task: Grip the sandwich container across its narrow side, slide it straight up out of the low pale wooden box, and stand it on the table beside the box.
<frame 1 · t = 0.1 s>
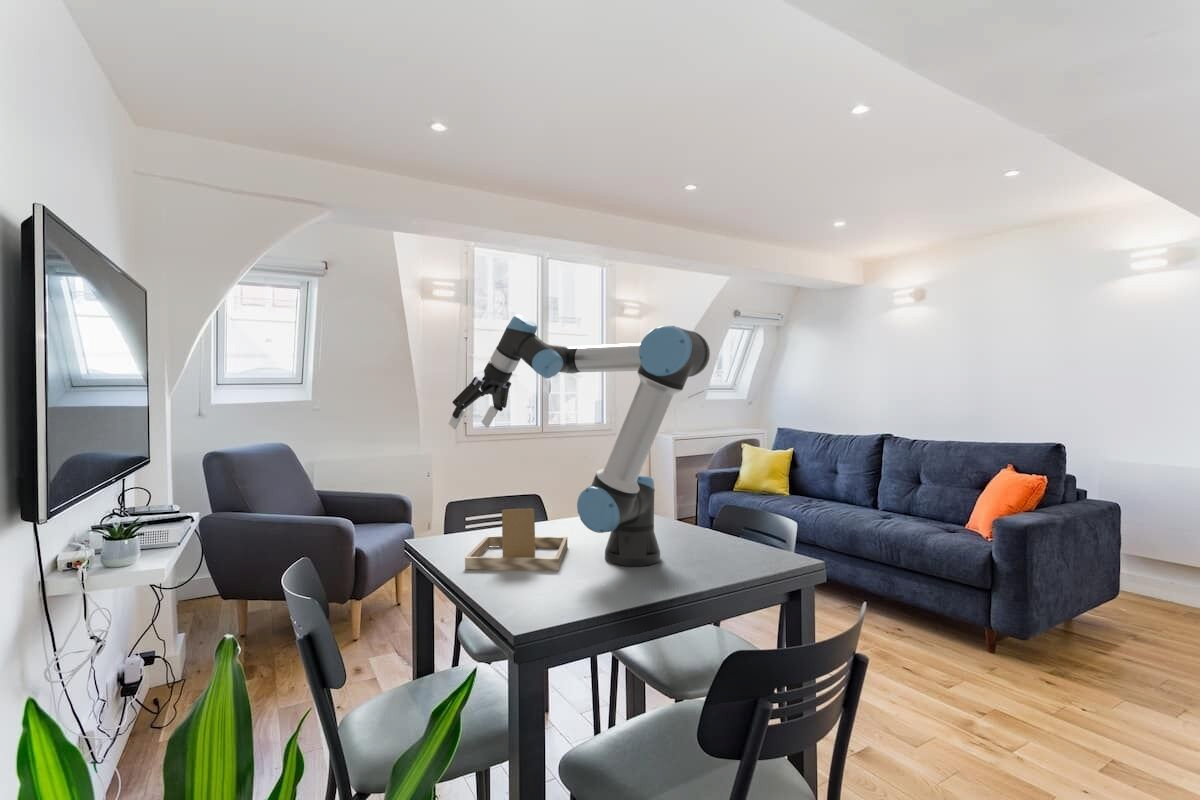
hand: (468, 425, 175), 36 cm above the table, tool tilted 35°, fingers open, 13 cm apart
pale wooden box: (519, 557, 163), on the table
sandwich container: (519, 558, 163), resting in pale wooden box
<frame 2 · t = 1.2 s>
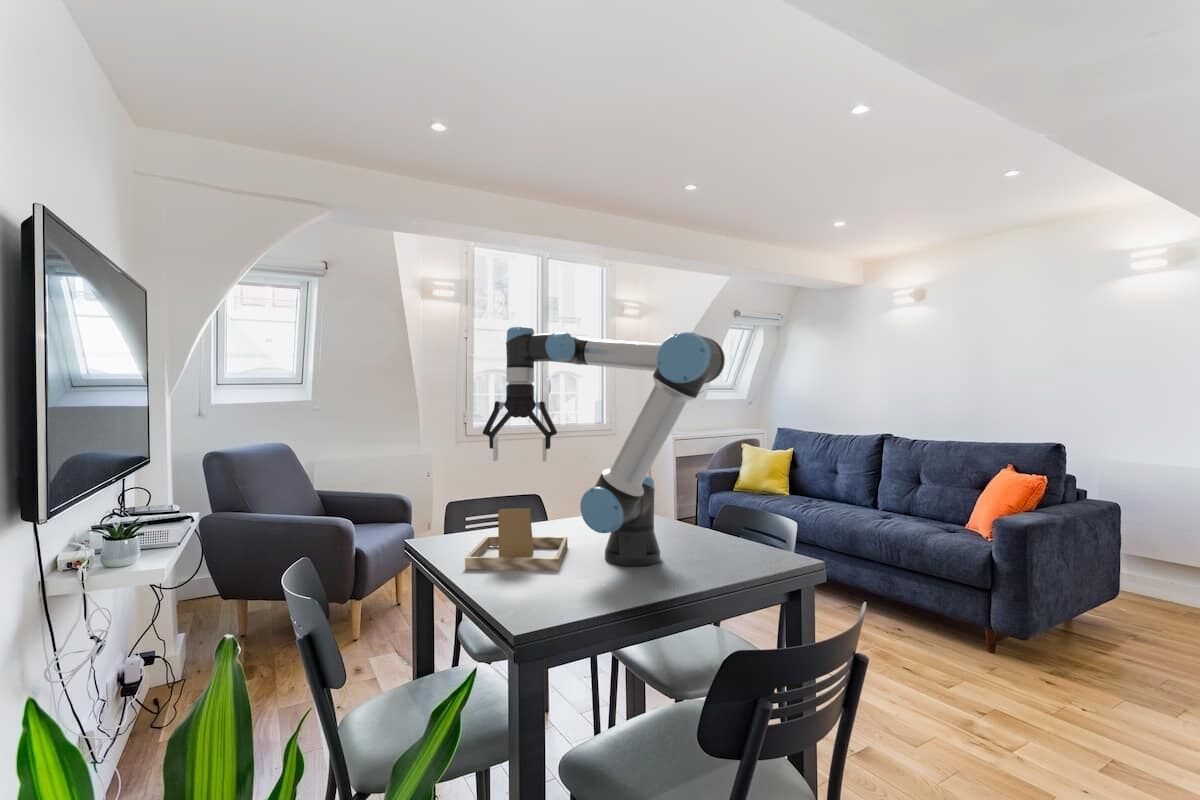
hand: (520, 460, 163), 27 cm above the table, tool pointing down, fingers open, 13 cm apart
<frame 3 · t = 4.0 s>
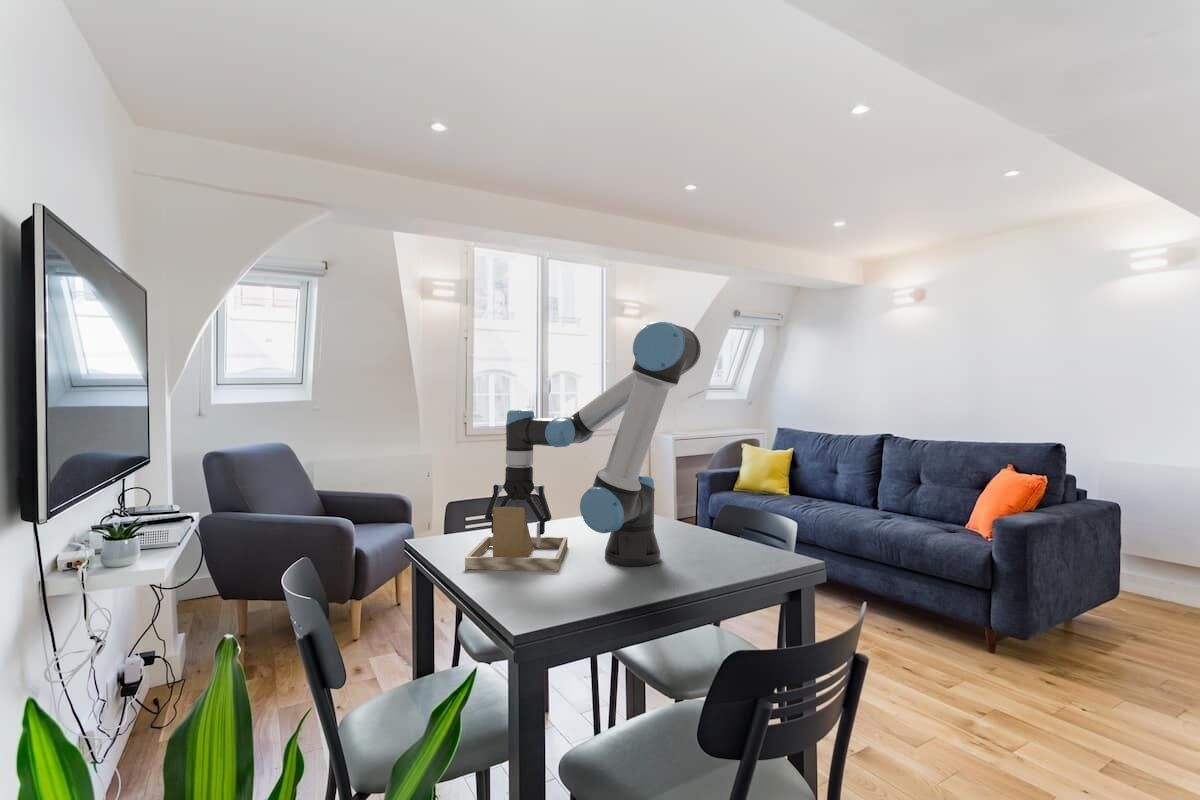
hand: (517, 545, 163), 3 cm above the table, tool pointing down, fingers open, 11 cm apart
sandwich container: (514, 556, 165), resting in pale wooden box, touching gripper
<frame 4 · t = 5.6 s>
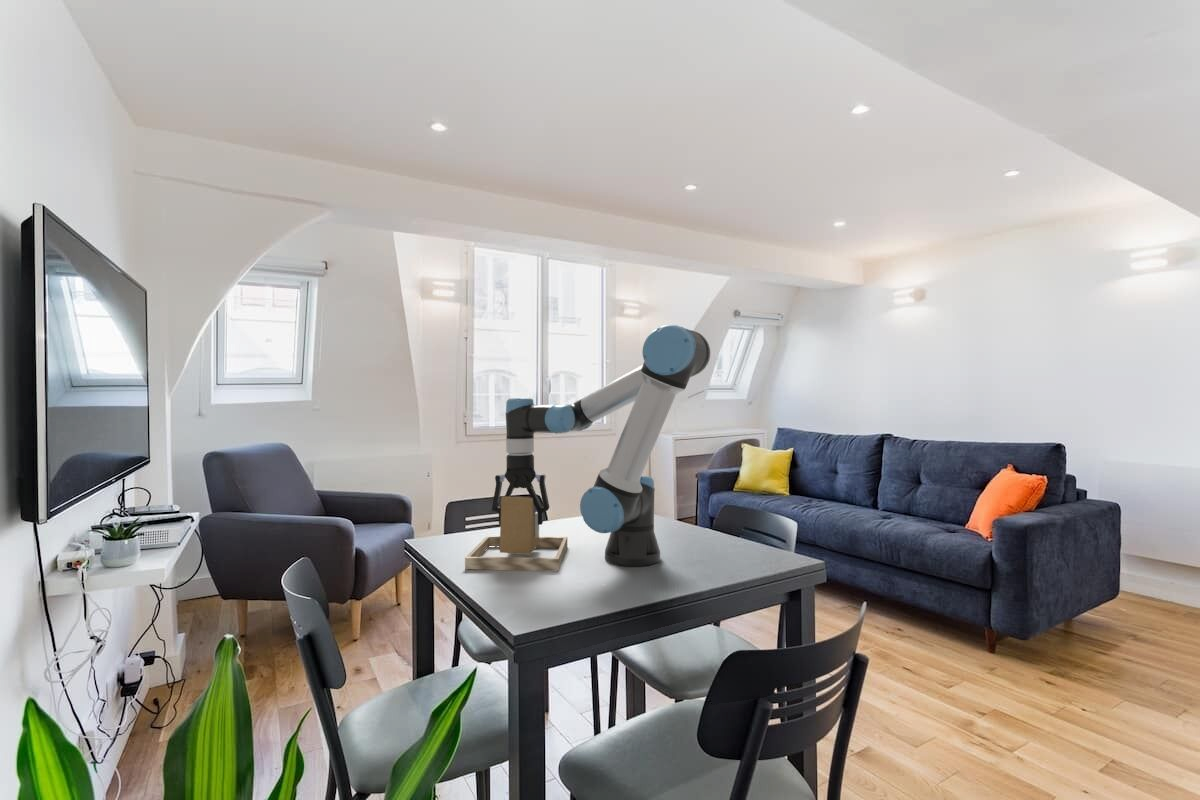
hand: (521, 536, 163), 6 cm above the table, tool pointing down, fingers closed on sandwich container, 8 cm apart
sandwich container: (520, 547, 164), point 3 cm above the table, touching gripper
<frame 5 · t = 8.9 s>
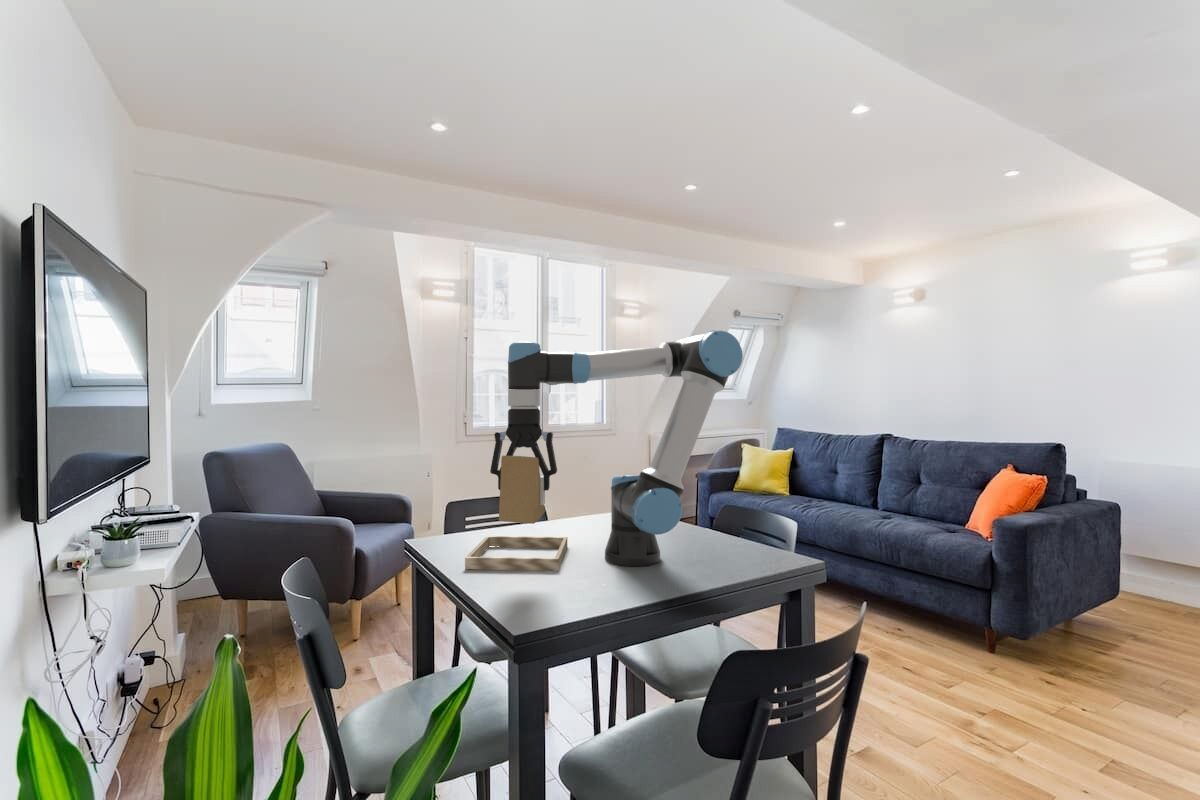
hand: (523, 504, 140), 19 cm above the table, tool pointing down, fingers closed on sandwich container, 8 cm apart
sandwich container: (523, 516, 141), point 16 cm above the table, touching gripper
when the fingers open (4 cm above the table, at t = 12.4 s): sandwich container stays where it is, on the table.
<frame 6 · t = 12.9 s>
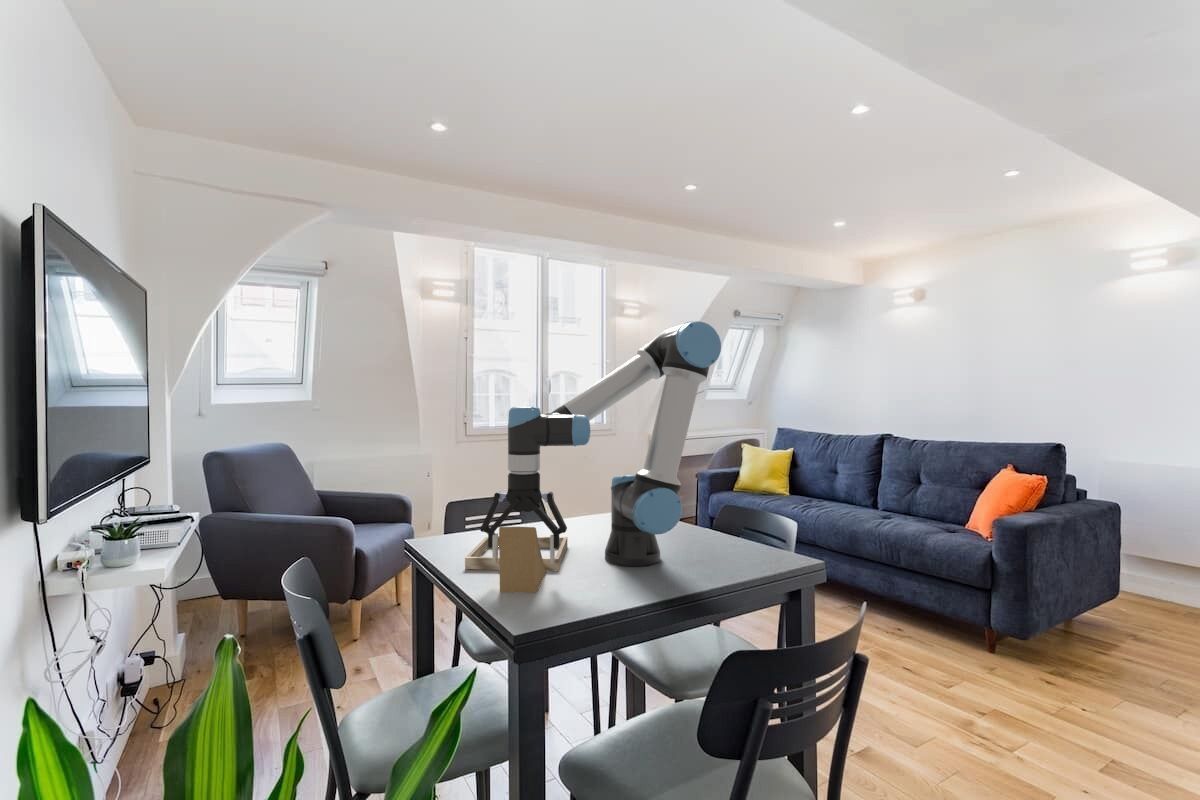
hand: (523, 561, 140), 5 cm above the table, tool pointing down, fingers open, 13 cm apart
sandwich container: (524, 583, 141), on the table
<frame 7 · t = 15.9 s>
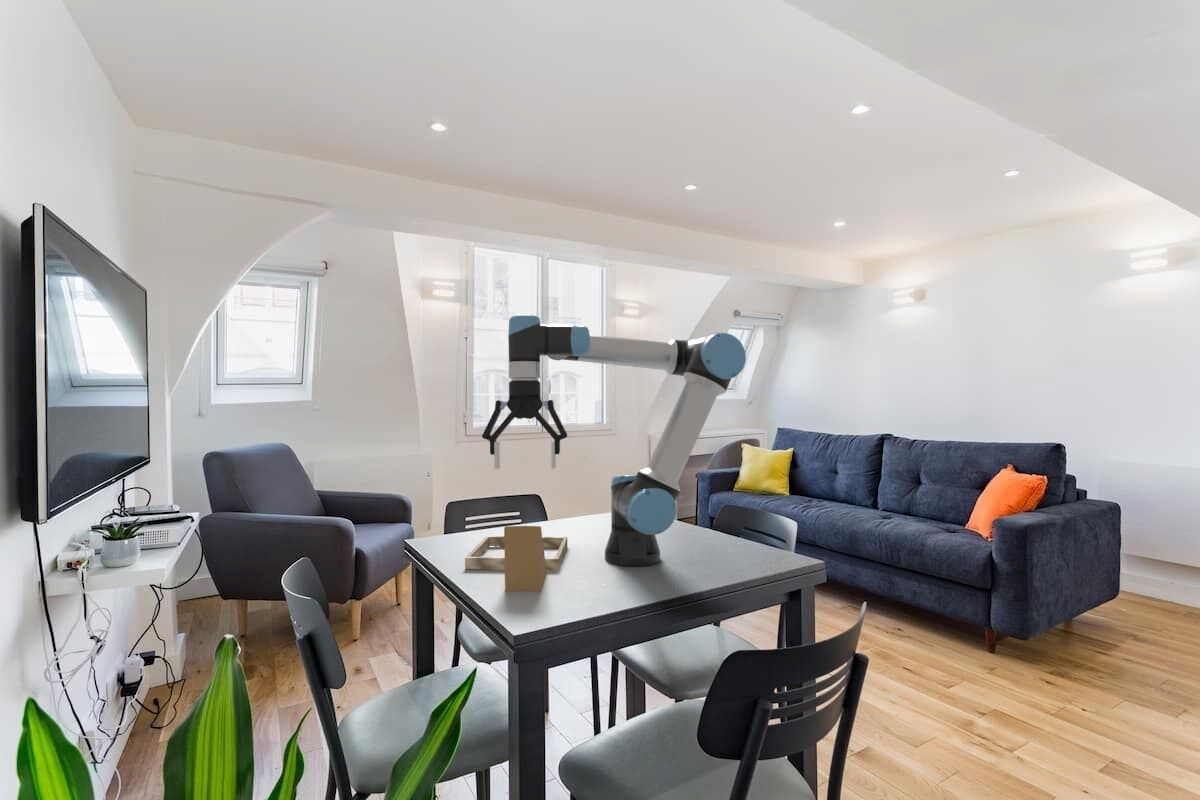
hand: (525, 468, 142), 27 cm above the table, tool pointing down, fingers open, 13 cm apart
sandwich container: (527, 582, 142), on the table
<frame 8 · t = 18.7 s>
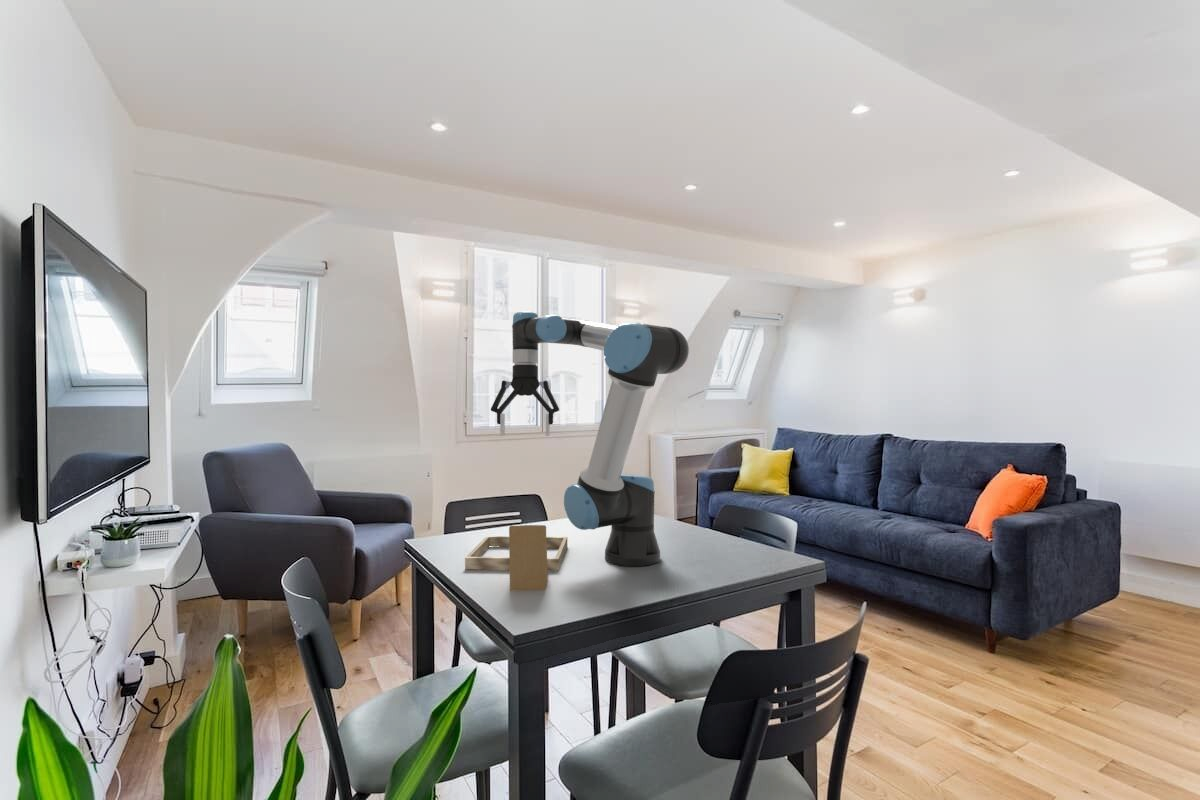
hand: (525, 435, 177), 33 cm above the table, tool pointing down, fingers open, 13 cm apart
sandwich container: (530, 581, 143), on the table, touching pale wooden box
at the end: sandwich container inside the target area (3.3 cm from its centre), on the table; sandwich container tilted 0°; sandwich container touching table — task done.
